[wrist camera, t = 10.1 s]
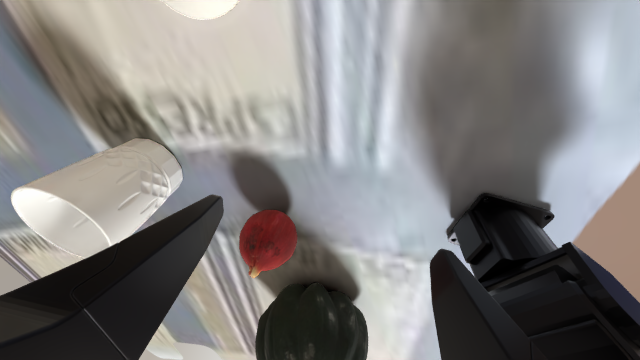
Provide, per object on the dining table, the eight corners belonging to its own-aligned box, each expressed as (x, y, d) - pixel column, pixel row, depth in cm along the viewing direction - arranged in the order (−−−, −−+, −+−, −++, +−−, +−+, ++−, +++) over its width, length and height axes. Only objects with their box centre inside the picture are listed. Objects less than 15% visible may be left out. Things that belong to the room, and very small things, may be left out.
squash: (239, 339, 37) (278, 472, 27) (244, 282, 29) (304, 444, 19) (317, 301, 44) (370, 394, 35) (339, 247, 36) (415, 350, 27)
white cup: (140, 189, 30) (53, 253, 22) (108, 129, 26) (-14, 182, 18) (197, 196, 29) (128, 266, 21) (174, 134, 25) (75, 192, 16)
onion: (250, 194, 27) (211, 251, 21) (299, 194, 26) (274, 254, 19) (264, 232, 30) (234, 291, 24) (308, 233, 29) (289, 296, 23)
